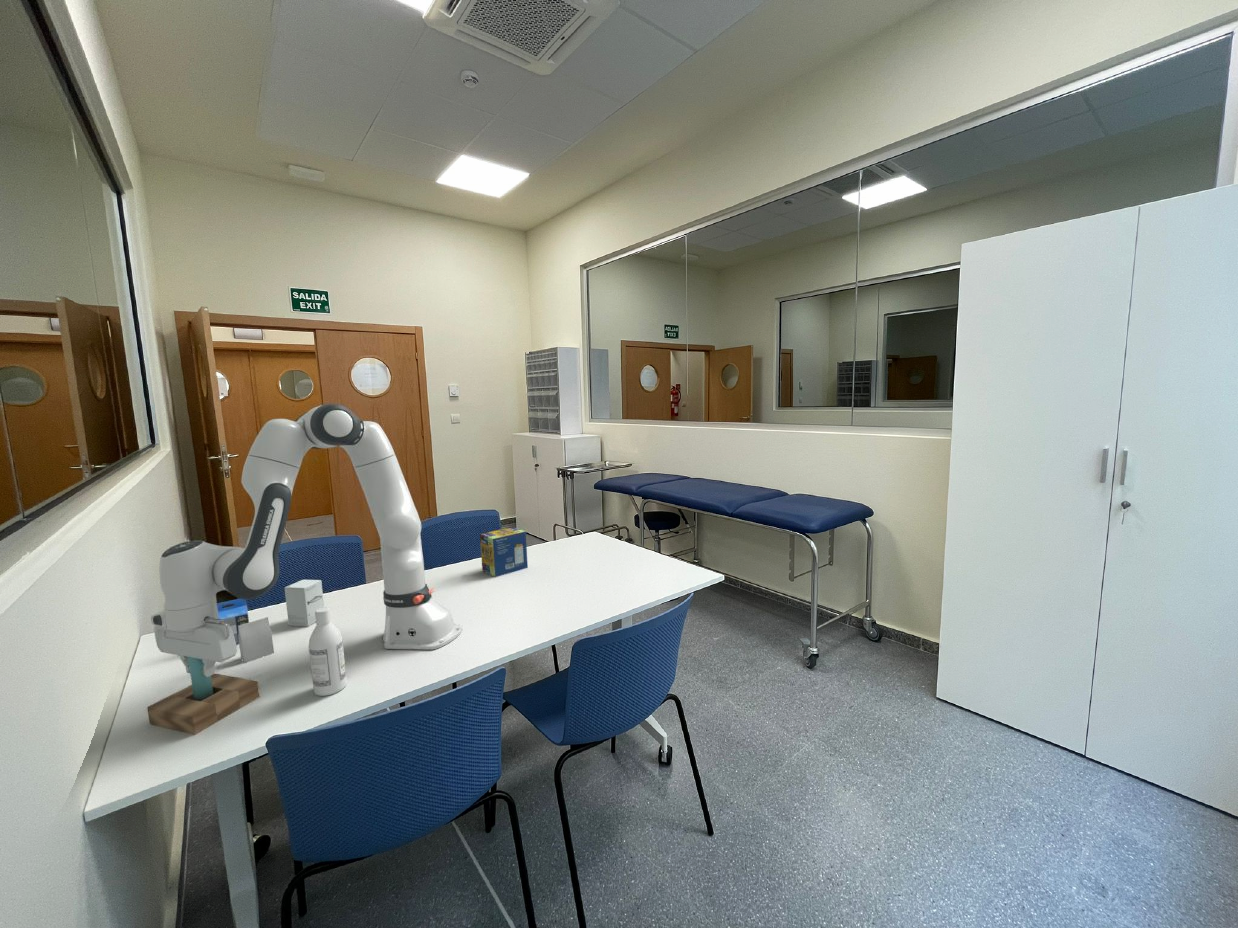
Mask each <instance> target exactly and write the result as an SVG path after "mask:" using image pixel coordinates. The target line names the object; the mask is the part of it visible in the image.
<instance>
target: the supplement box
mask: <svg viewBox="0 0 1238 928" xmlns="http://www.w3.org/2000/svg"><path fill="white" fill-rule="evenodd" d="M284 596H285V604H286V605H285V606H286V614H287V622H288V626H290V627H291V626H292V627H305V628H307V627H310V626H311V625H313V624H316V617H315V610H317V609H319V608H323V607H325V602H324V592H323V582H322V580H321V579H301V580H298V581H297V582H295V583H292V584H289V585H287V586H285V587H284Z"/></svg>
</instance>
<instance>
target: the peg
mask: <svg viewBox="0 0 1238 928" xmlns="http://www.w3.org/2000/svg"><path fill="white" fill-rule="evenodd" d="M188 661H189V668H190V673H189V674H190V680H191V685H192V689H193V696H194V700H196V701H202V700H204V699H206V698H208V697H210V696H212V695H213V688H212V681H211V675H210V676H208V677H206V676H202V675H201V674H202V673H201V669H202V668H204V664H205V663H203V662H202V659H197V658H192V657H188Z"/></svg>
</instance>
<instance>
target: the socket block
mask: <svg viewBox="0 0 1238 928" xmlns="http://www.w3.org/2000/svg"><path fill="white" fill-rule="evenodd" d="M211 681H212V688H213V695H212V696H210V697H208V698H206V699H204V700H202V701H196V700H194V696H193V689H192V684H190V685H188V686H186V687H184V688H182V689H181V690H178V691H177V692H174V693H172V694H171V695H168V696H167V697H165V698H163V699H160V700H159V701H157V702H154V703H152V704H151V705H148V706H147V707H146V710H147V715H148V721H149V725H152V726H157V727H160V728H161V727H162V728H165V729H170V730H174V731H178V732H183V733H187V734H190V735H191V734H192V735H197V734H199V733H200V732H202V731H204V730H206V729H208V728H209V727H210V726H212V725H214V724H216V723H218V722H220V720H221V721H222V719H225V718H226V717H228V716H229V715H231V714H233V713H234V712H236V711H238V710H240V709H241V708H243V707H245V706H246V705H248V704H249V703H251V702H253V701H255V700H256V699H257V700H258V698H260V691H259V690H260V689H259V682H258V680H254V679H248V678H243V677H238V676H237V677H236V676H232V675H226V674H219V673H215V672H214V674H213V675H211Z"/></svg>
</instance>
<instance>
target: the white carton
mask: <svg viewBox="0 0 1238 928" xmlns="http://www.w3.org/2000/svg"><path fill="white" fill-rule="evenodd" d="M238 639H239V643H238V645H239V652H240V659H241V661H242V662H243V663H244V664H247V663H249V662H252V661H255V660H258V659H261V658H263V656H264V657H266V656H270V655H273V654H275V651H274V643H273V633H272V630H271V625H270V622H269V617H267V616H266V617H262V618H260V619H256V620H252V621H249V623H246V624H242V625H239V626H238ZM272 653H273V654H272Z"/></svg>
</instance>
